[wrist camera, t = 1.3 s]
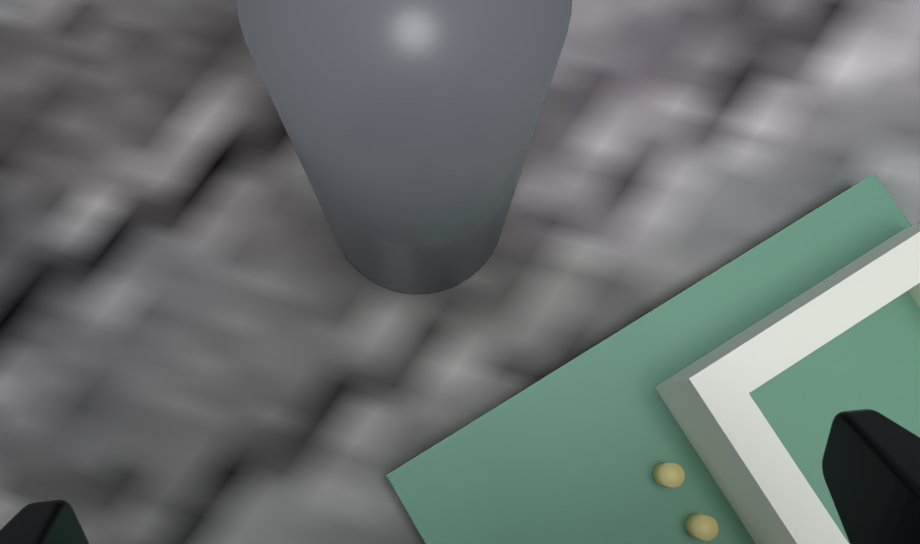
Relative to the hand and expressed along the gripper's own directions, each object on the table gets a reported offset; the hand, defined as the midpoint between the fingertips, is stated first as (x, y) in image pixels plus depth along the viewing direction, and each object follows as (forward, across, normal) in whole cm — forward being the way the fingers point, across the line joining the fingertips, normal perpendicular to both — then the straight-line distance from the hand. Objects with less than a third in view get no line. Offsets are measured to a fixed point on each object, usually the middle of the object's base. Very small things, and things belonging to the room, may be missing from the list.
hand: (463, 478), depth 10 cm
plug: (+14, 0, +4) cm, 15 cm away
